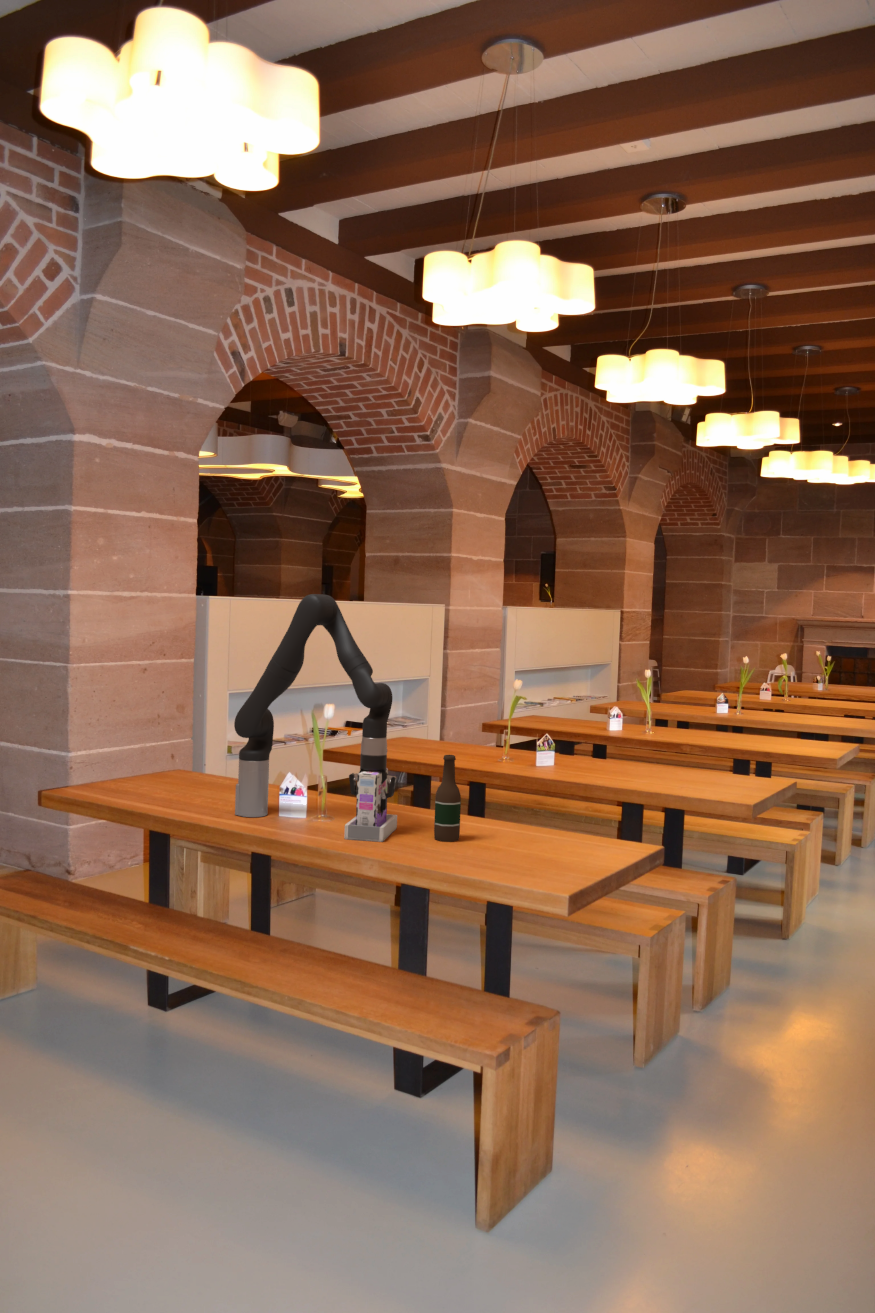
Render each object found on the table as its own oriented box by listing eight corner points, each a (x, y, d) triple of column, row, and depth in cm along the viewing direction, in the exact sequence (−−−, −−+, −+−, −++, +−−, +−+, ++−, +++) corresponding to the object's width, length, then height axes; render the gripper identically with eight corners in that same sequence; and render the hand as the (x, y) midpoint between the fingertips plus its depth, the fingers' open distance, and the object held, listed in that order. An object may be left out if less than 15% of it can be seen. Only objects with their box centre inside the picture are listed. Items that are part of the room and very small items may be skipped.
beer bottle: (428, 837, 284) (431, 753, 283) (453, 835, 287) (456, 753, 286) (439, 843, 277) (442, 757, 276) (464, 841, 280) (467, 757, 279)
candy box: (375, 832, 278) (376, 774, 278) (354, 831, 280) (356, 773, 279) (387, 823, 292) (389, 767, 291) (367, 821, 293) (369, 766, 292)
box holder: (344, 839, 277) (344, 825, 277) (360, 825, 296) (361, 812, 296) (382, 842, 275) (383, 827, 275) (396, 828, 294) (397, 814, 294)
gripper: (346, 752, 282) (344, 811, 283) (395, 755, 280) (393, 815, 281) (352, 749, 290) (350, 806, 290) (400, 752, 287) (398, 810, 288)
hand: (371, 810), depth 286 cm, fingers closed on candy box, 5 cm apart
